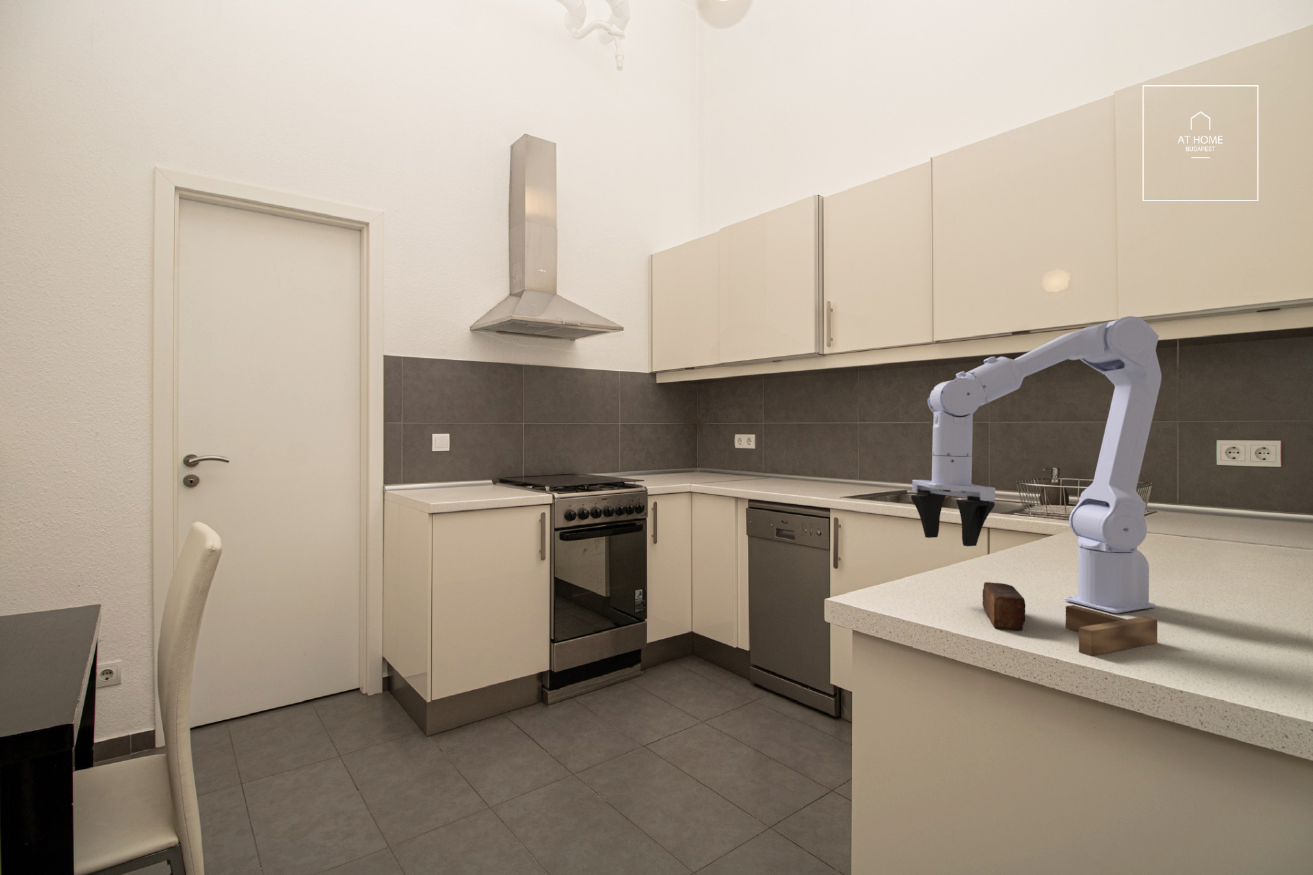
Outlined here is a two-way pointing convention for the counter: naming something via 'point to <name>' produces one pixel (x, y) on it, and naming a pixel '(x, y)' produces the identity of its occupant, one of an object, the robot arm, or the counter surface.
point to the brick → (1004, 606)
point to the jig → (1109, 630)
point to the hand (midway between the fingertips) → (949, 541)
